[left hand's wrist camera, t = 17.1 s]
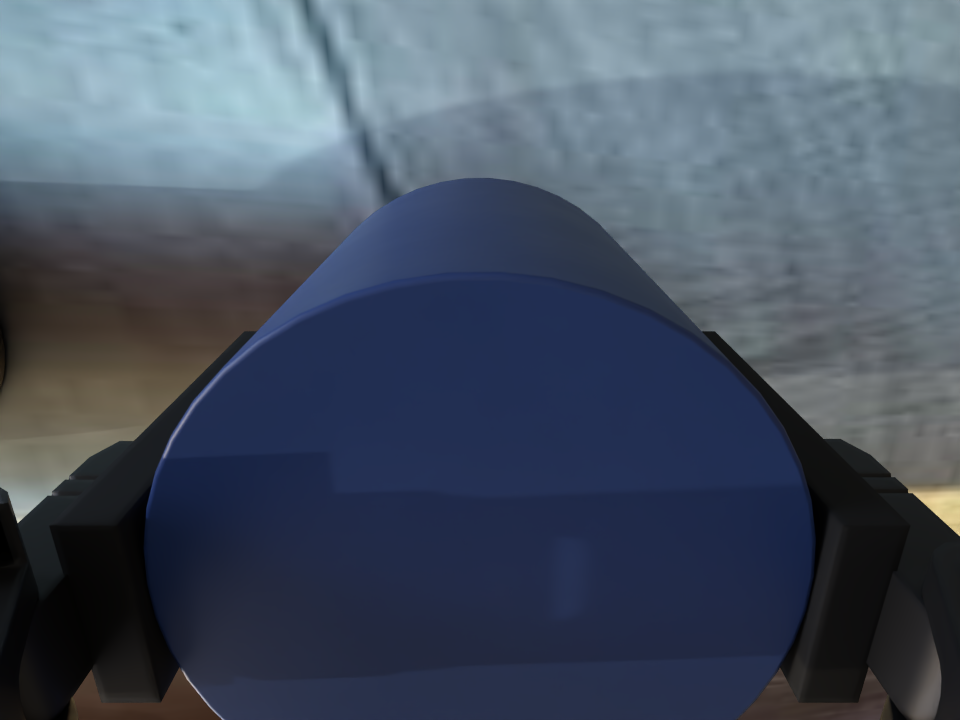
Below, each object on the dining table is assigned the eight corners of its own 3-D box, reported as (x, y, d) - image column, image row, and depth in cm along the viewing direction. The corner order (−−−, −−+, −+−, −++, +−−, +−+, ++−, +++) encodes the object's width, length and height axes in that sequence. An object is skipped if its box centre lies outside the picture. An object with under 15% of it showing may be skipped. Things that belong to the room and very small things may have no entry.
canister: (714, 272, 15) (968, 461, 7) (550, 535, 18) (606, 877, 10) (387, 111, 14) (267, 127, 6) (265, 421, 16) (72, 713, 9)
